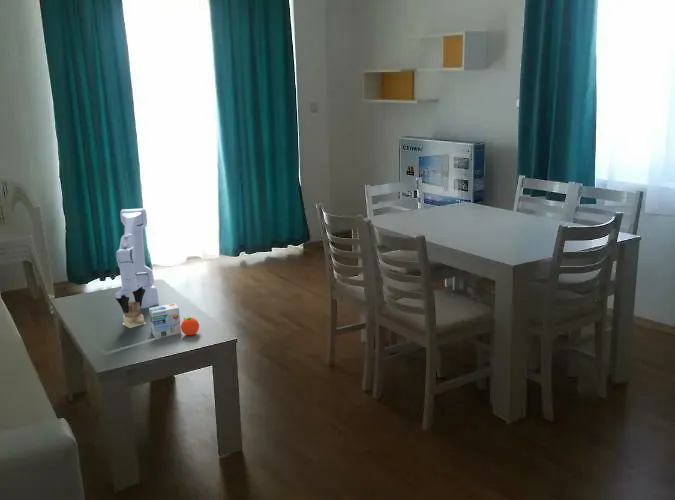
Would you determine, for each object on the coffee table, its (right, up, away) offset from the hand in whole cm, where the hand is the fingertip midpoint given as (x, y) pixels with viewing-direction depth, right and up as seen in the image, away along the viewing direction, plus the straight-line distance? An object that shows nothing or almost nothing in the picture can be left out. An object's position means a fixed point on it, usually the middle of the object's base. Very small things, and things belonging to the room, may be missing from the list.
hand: (132, 309), depth 268 cm
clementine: (+26, -9, -10) cm, 29 cm away
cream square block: (0, -6, +1) cm, 6 cm away
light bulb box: (+16, -9, -8) cm, 20 cm away
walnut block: (0, -2, +1) cm, 2 cm away
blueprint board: (-3, -6, +3) cm, 8 cm away
